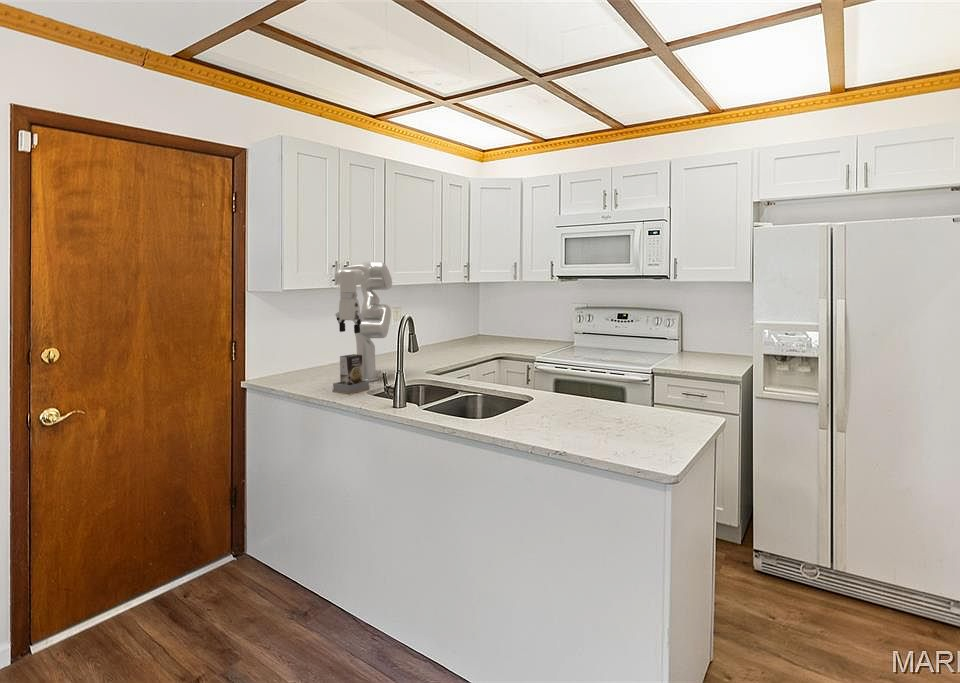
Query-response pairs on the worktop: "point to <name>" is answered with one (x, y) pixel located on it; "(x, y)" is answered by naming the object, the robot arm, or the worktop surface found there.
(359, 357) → the coffee box
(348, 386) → the dock
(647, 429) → the worktop surface
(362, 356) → the robot arm
